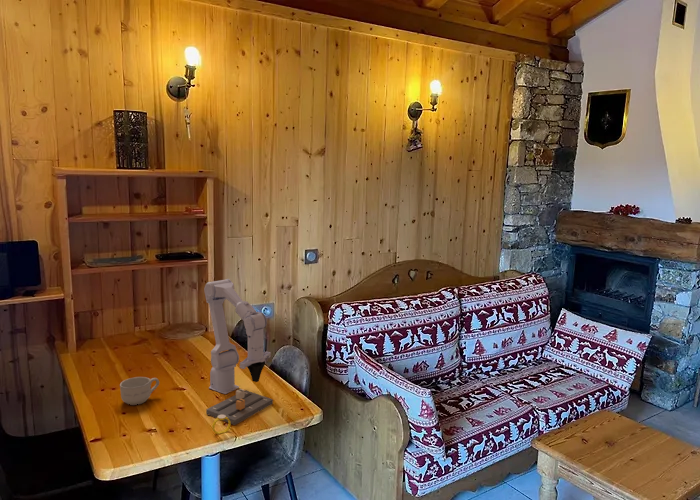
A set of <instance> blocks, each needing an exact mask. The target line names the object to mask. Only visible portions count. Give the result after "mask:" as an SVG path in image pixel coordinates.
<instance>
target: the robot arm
mask: <svg viewBox="0 0 700 500" xmlns="http://www.w3.org/2000/svg"><path fill="white" fill-rule="evenodd" d="M203 290H204V291H203V292H204V295H205V300H206V304H208V308H209V312H210V318H211V323H212V328H213V334H214V339H215V346H214V347H213V348H212V349H211V351H210V363H211V364H210V365H211V366H212V367H211V369H210V373H209V376H210V378H209V380H210V382H209V383H210V385H209V387H208V389H209V390H213V391H215V392H218V393H220V394H224V395H226V394H227V395H228V393H231V392H234V391H236V390H238V389H240V386H239V385H237V384H235V381H236V380H235V368H236V367H237V364H238V363H239V369H242V370H245V369H248V371H249V374H250V376H251V380H252V382H255V383H258V382H259V381H260V378H261V375H262V372H263V369H264V368H265V365H266V359H267V358H268V359H270V358H271V356H272V353H271V351H267V350H266V351H264V328H266V327H267V324H268V320H267V316H266V315H265V314H264V312H260V311H257V310H256V309H255V308H254V307H253V306H252V305H251V303H249V301H246V300H243V299H242V298H241V297H240V295H239V294H238V292H237V291H236V290H235V284H234V282H232V280H231V279H230V278H226V279H220V280H213V281H208V282H207V283H205V285H204V289H203ZM226 300H227V301H228V302H229V303H230V304H232V306H234V307H235V313H236V314H237V315H238V316H239V317H240V319H241V320H242V321H243V325H244V327H245V334H246V335H247V357H246V358H244V359H243V360H242V361H240V362H239V360H240V355H239V353H238V351H237V347H236V345H235V344H233V343H231V342H230V338H229V334H228V327H227V322H226V316H225V310H224V305H223V304H224V302H225V301H226Z"/></svg>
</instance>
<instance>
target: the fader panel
mask: <svg viewBox="0 0 700 500" xmlns="http://www.w3.org/2000/svg"><path fill="white" fill-rule="evenodd" d="M242 399H243V400H245V408H243V409H242V410H238V409H236V401H237V400H238V399H236V394H235V395H233V396H231V397H229V398H226V399H224V400H222V401H221V402H219V403H216V404H214V405H212V406H210V407H209V408H206V410H205V411H206V415H208V416H210V417H212V418H215V419H216V418H217V416H218V415H225V416H226V417H227V418H228V419H229V420H230V422H231V425H233V426H235V425H238V424H239V423H241V422H243V421H245V420H246V419H248V418H250V417H252V416H254V415H256V414H257V413H259V412H261V411H262V410H264V409H266V408H267V407H270V406H271V405H273V404H274V403H273V402H274V400H273V399H272V398H269V397H267V396H264V395H261V394H258V393H255V392H252V391H250V390H246V389H244V398H242ZM228 419H224V420H222V421H223V422H225V423H228Z"/></svg>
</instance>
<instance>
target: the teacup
mask: <svg viewBox="0 0 700 500" xmlns="http://www.w3.org/2000/svg"><path fill="white" fill-rule="evenodd" d="M154 381H155V382H156V383H155V385H154V386H152V383H153V382H154ZM159 385H160V381H159V379H158V378H157V377H152V378H149V377H146V376H135V377H130V378H126V379H124V380H122V381H121V382H120V384H119V388H120V390H119V391H120V398H121V400H122V402H123V403H125V404H127V405H129V404H130V406H135V405H136V406H138V405H141V404H144V403H145V402H147V400H148V399H149V398H150V397H151V394H152V393H153V392H154V391H155V390H156V389H157V387H159ZM151 387H152V388H151ZM137 404H138V405H137Z"/></svg>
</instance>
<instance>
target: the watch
mask: <svg viewBox="0 0 700 500" xmlns="http://www.w3.org/2000/svg"><path fill="white" fill-rule="evenodd" d="M224 419H228V418H227V417H226V416H225V415H218V416H217V418H215V419H214V420H213V422H212V424H211V428H212V431H213V432H214V434H216V435H221V434H225V433H228V431H229V430H230V428H231V425H232V424H231V422H230V420H229V419H228V422H227V423H228V424H227V427H226V428H225V429H224V430H219V431H216V429H215V426H216V424H217V423H218V422H219V421H223V420H224Z"/></svg>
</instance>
